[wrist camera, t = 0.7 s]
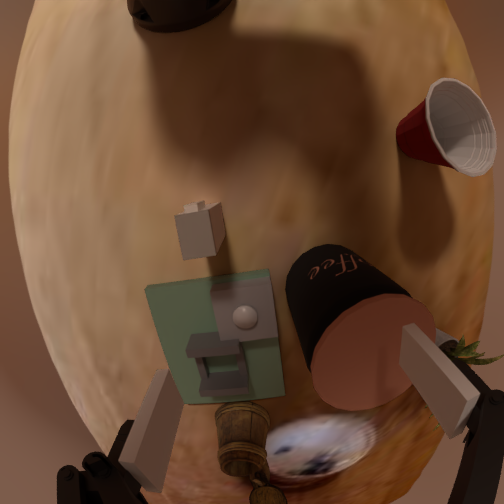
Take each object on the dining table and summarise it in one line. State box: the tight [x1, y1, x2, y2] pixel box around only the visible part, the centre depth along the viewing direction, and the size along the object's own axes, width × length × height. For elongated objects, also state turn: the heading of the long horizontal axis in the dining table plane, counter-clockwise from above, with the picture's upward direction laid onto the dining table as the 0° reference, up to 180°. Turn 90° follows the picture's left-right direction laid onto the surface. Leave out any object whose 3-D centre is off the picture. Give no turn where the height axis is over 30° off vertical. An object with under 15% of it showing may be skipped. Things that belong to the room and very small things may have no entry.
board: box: [145, 269, 285, 404], centre depth 35 cm, size 20×16×6 cm
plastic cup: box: [396, 78, 497, 177], centre depth 25 cm, size 11×11×12 cm
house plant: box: [424, 328, 504, 431], centre depth 31 cm, size 14×14×16 cm
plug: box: [175, 201, 226, 260], centre depth 29 cm, size 5×3×10 cm, turn 9°
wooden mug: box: [215, 401, 287, 504], centre depth 33 cm, size 9×14×18 cm, turn 36°
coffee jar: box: [285, 244, 436, 411], centre depth 27 cm, size 11×11×18 cm
